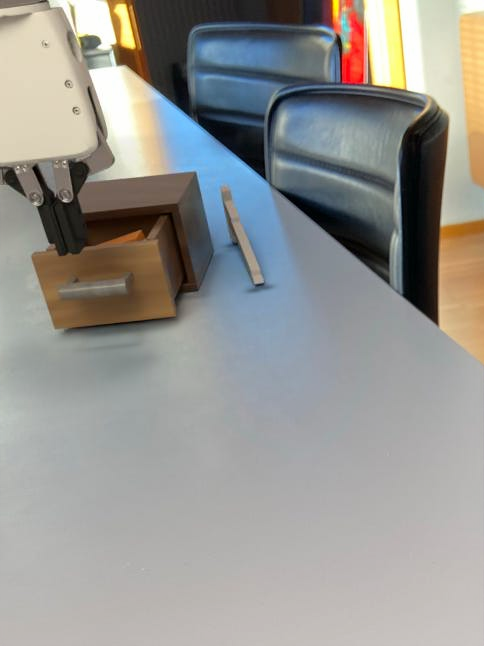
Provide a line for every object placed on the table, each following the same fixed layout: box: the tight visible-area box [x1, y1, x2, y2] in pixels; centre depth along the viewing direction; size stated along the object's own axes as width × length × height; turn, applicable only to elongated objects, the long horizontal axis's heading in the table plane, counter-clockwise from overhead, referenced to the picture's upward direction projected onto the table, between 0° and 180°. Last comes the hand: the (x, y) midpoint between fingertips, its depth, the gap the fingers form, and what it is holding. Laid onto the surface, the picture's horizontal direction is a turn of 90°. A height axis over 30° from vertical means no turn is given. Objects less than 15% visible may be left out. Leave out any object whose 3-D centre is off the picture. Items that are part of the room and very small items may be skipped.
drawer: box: [30, 212, 186, 330], centre depth 98 cm, size 18×11×7 cm, turn 6°
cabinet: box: [77, 170, 215, 294], centre depth 108 cm, size 15×13×9 cm
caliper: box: [219, 184, 265, 285], centre depth 111 cm, size 20×1×6 cm, turn 19°
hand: (72, 250), depth 85 cm, fingers closed
